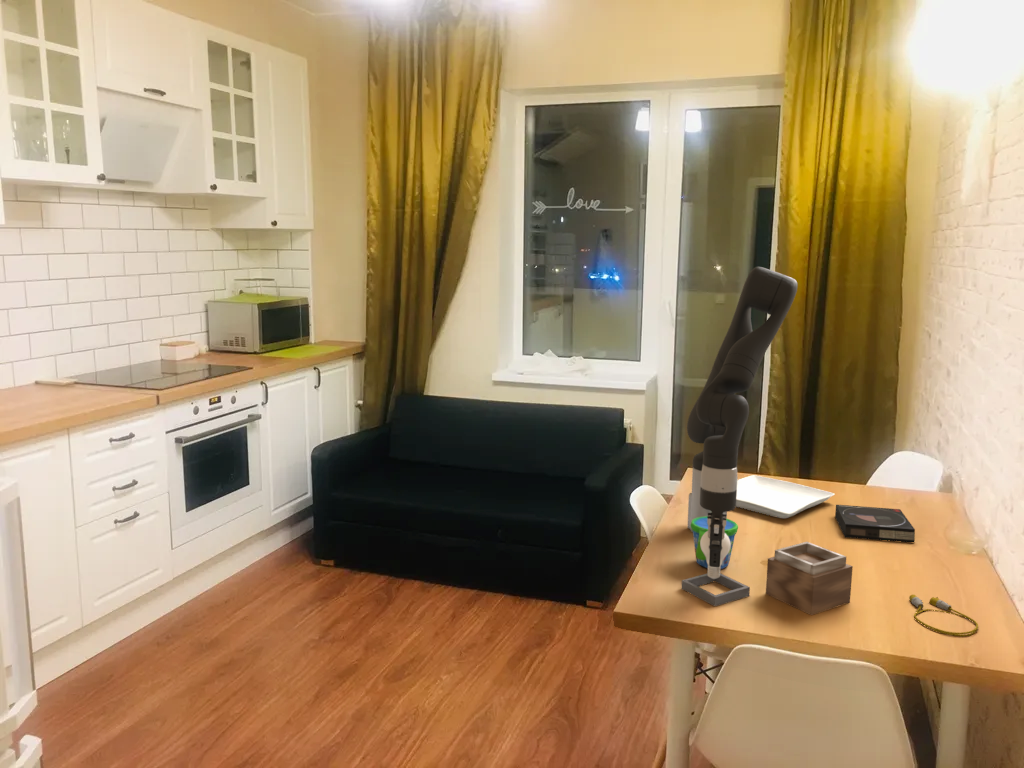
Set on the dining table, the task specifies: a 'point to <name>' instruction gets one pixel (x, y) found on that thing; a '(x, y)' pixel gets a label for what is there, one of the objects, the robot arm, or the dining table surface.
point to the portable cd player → (874, 523)
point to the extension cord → (942, 605)
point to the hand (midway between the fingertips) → (714, 559)
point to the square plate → (777, 496)
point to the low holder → (715, 600)
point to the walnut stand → (809, 577)
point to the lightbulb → (704, 544)
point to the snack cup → (701, 527)
